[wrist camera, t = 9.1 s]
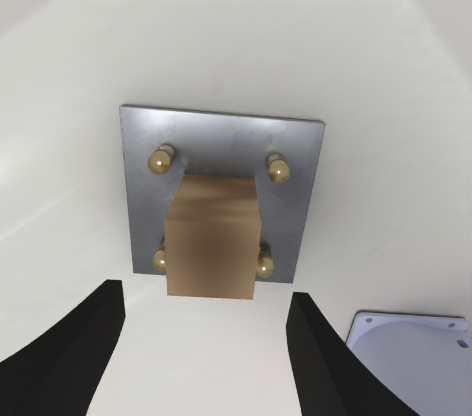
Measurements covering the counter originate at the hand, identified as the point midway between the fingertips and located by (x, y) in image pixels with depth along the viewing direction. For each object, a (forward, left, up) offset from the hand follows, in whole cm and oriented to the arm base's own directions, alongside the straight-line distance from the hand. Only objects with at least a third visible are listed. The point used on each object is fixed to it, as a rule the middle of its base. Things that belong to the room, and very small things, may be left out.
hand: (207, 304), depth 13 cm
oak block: (0, 0, -9) cm, 9 cm away
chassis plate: (0, 0, -9) cm, 9 cm away
